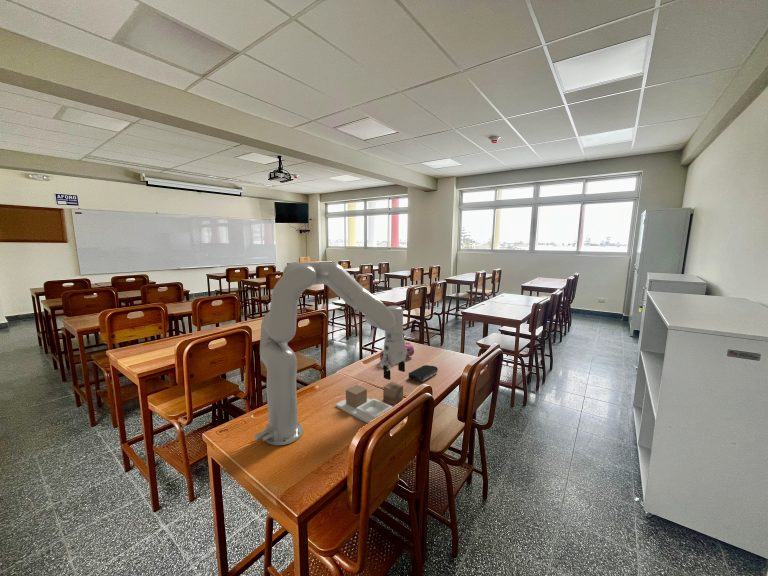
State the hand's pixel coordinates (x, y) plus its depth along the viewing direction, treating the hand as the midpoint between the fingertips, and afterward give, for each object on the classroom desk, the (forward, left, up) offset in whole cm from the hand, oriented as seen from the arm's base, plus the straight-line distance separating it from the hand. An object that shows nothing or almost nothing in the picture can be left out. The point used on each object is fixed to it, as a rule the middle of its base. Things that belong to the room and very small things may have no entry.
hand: (394, 374), depth 130 cm
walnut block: (-1, 0, -11) cm, 11 cm away
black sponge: (+27, +3, -11) cm, 30 cm away
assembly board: (-15, +3, -11) cm, 18 cm away
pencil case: (+35, +26, -11) cm, 46 cm away
